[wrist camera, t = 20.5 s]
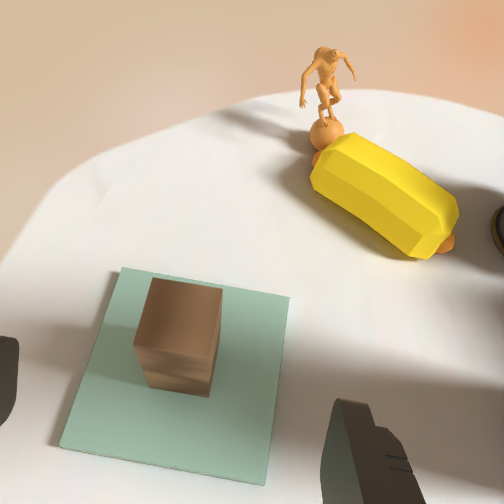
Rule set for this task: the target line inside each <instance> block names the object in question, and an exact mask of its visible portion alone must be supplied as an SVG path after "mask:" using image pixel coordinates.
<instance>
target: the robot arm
mask: <svg viewBox="0 0 504 504" xmlns="http://www.w3.org/2000/svg"><path fill="white" fill-rule="evenodd" d="M18 360H19V343H18V341H17V339H15V338H11V337H5V336H0V426H1V425H2V424H3V423H4V422H5V421H6V420H7V418H8V417H9V415H10V413H11V411H12V409H13V406H14V404H15V400H16V392H17V376H18ZM320 482H321V490H322V498H323V504H426V502H425V500H424V497H423V495H422V493H421V490H420V488H419V485H418V483H417V480H416V478H415V476H414V475H413V471H412V468H411V466H410V463H409V462H407V456H406V454H405V451H404V449H403V446H402V444H401V442H400V441H399V440H398V439H397V438H396V437H395V436H394V435H393V434H392V433H391V432H390V431H389V430H388V429H387V428H383V427H377V426H375V423H374V420H373V418H372V415H371V412H370V409H369V406H368V404H366V403H361V402H356V401H350V400H345V399H339V398H337V399H336V401H335V403H334V406H333V410H332V414H331V419H330V423H329V427H328V431H327V436H326V440H325V444H324V449H323V453H322V459H321V468H320Z"/></svg>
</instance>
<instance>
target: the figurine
mask: <svg viewBox="0 0 504 504" xmlns="http://www.w3.org/2000/svg"><path fill="white" fill-rule="evenodd" d="M339 58H343V59H344V62H345V63H346V65H347V67H348V68H349V69H350V70H351V72H352V73H353V77H354V79H355V72H354V69H353V67H352V65H351V63H350V62H349V60H348V58H347V55H346V54H345V53H342V52H338V51H337V50H336V49H333V50H332V49H329V48H327V47H320V48H318V49H317V50H316V52H315V55H314V61H313V62H312V64H311V65H310V66H309V67H308V68H307V70H306V71H305V72H304V73H303V75H302V78H301V96H300V107H301V106H302V109H303V105H304V107H305V104H304V102H306V100H305V99H304V94H305V89H306V79H307V76H308V75H310V74H311V73H312V72H313V71H314V70H315V69H316V68H317V71H318V74H319V77H320V84H318V85H317V86H316V90H317V92H318V96H319V99H320V101H321V103H322V104H320V105H319V106H318V112H319V116H320V119H318V120H317V121H316V122H315V123H314V124H313V125H312V127H311V129H310V141H311V143H312V145H313V146H314V147H315V148H316V149H317V150H321V149H325V148H326V147H327V146H329V145H330V144H331V143H332V142H333V141H335V140H336V139H337V138H338V137H339V136H343V135H344V129H343V126H342V124H341V123H340V122H339V121H338V120H337V118H336V117H335V116H334V115H333V111H332V108H331V105H334V104H335V103H338V102H339V101H340V100H341V95H340V93H339V90H338V87H337V80H336V77H335V76H333V74H334V72H335V70H336V68H337V61H338V59H339ZM332 76H333V77H332ZM327 89H329V91H328V90H327ZM329 93H330V94H329ZM330 95H332V96H333V97H334V98H331V99H329V97H330ZM306 103H307V102H306ZM327 108H328V113H329V117H324V115H323V110H325V109H327Z"/></svg>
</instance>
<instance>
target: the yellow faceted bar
mask: <svg viewBox="0 0 504 504" xmlns="http://www.w3.org/2000/svg"><path fill="white" fill-rule="evenodd" d="M312 166H313V167H314V169H313V171H312V173H311V175H310V177H309V178H310V180H311V183H312V186H313V188H314V190H315V191H317V192H318V193H320V194H322V195H323V196H325V197H326V198H328V199H330V200H331V201H333V202H334V203H336V204H338V205H339V206H341V207H342V208H344V209H345V210H347V211H349V212H350V213H352V214H353V215H355V216H357V217H358V218H360V219H361V220H362V221H364V222H365V223H366V224H368V225H369V226H370V227H371V228H373V229H374V230H375V231H377V232H378V233H379V234H380V235H382V236H383V237H384V238H386V239H387V240H388V241H389V242H391V243H392V244H393V245H395V246H396V247H397V248H398V249H400V250H401V251H402V252H404V253H405V254H406V255H407V256H410V257H415V258H421V259H426V260H428V259H429V258H430V257H431V256H432V255H433V254H434V253H439V254H444V253H446V252H448V251H450V250H452V249H453V247H454V243H455V239H456V237H455V236H454V235H453V233H452V230H453V228H454V226H455V224H456V222H457V220H458V217H459V215H460V213H459V209H458V206H457V202H456V198H455V197H454V196H453V195H452V194H450V193H449V192H448V191H446V190H445V189H443V188H442V187H441V186H439V185H438V184H436V183H435V182H434V181H432V180H431V179H430V178H428V177H427V176H425V175H424V174H423V173H421V172H420V171H418V170H417V169H416V168H414V167H413V166H412V165H410V164H409V163H407V162H406V161H405V160H403V159H401V158H399V157H397V156H396V155H394V154H392V153H390V152H388V151H387V150H385V149H383V148H381V147H379V146H378V145H376V144H374V143H372V142H370V141H369V140H367V139H365V138H363V137H361V136H360V135H358V134H356V133H350V134H346V135H343V136H339V137H338V138H337V139H336V140H335V141H333V142H332V143H331V144H330V145H329V146H327V147H326V148H325V149H321V150H319V151H318V152H317V153H316V154H314V157H313V160H312Z"/></svg>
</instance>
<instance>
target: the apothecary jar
mask: <svg viewBox="0 0 504 504" xmlns="http://www.w3.org/2000/svg"><path fill="white" fill-rule="evenodd" d="M491 230H492V235H493V238H494V241H495V243H496V245H497V247H498V248H499V250H500V251H501V252H502V253H503V255H504V206H502V207H500V208H499V209H498V210H497V211H496V212H495V214H494V216H493V218H492V223H491Z"/></svg>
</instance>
